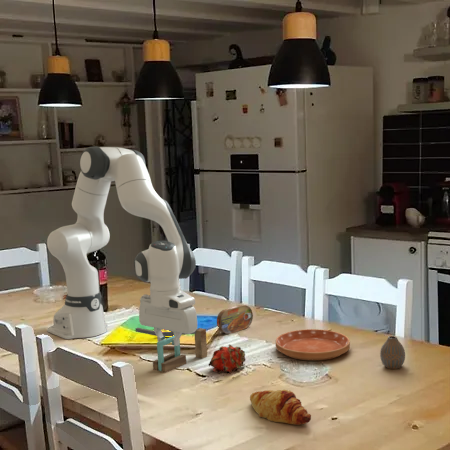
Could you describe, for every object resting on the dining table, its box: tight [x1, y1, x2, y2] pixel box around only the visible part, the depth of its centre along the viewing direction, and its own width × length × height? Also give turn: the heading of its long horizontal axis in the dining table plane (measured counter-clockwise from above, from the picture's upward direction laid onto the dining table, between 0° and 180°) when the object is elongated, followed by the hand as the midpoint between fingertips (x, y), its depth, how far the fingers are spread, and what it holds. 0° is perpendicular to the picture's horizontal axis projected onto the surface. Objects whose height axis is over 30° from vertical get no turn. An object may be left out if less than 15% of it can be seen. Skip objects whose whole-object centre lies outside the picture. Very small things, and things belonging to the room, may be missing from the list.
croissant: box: [249, 389, 312, 426], centre depth 168 cm, size 21×10×8 cm, turn 39°
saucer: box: [275, 328, 351, 361], centre depth 215 cm, size 23×23×4 cm
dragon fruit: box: [208, 344, 246, 374], centre depth 199 cm, size 8×8×12 cm
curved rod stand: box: [135, 327, 208, 359], centre depth 212 cm, size 21×12×10 cm, turn 52°
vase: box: [379, 335, 406, 370], centre depth 197 cm, size 7×7×9 cm
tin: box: [216, 304, 254, 335], centre depth 239 cm, size 15×3×8 cm, turn 131°
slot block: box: [152, 352, 187, 373], centre depth 203 cm, size 5×9×4 cm, turn 142°
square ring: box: [156, 335, 181, 372], centre depth 203 cm, size 1×8×8 cm, turn 142°
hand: (168, 343), depth 202 cm, fingers open, 4 cm apart
